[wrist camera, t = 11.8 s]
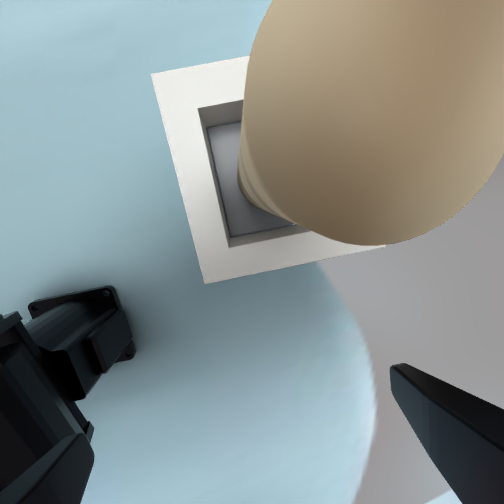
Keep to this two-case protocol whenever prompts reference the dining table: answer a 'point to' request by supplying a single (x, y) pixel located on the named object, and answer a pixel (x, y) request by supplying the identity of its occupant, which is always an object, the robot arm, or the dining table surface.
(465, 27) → the peg
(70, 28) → the dining table surface
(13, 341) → the robot arm
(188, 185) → the well block
